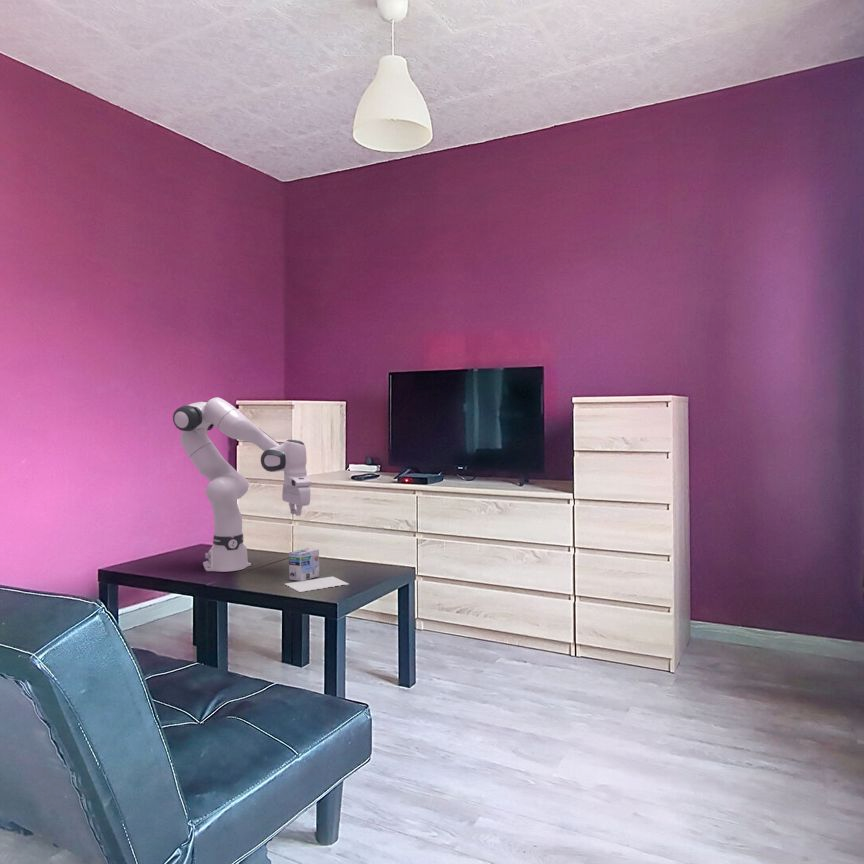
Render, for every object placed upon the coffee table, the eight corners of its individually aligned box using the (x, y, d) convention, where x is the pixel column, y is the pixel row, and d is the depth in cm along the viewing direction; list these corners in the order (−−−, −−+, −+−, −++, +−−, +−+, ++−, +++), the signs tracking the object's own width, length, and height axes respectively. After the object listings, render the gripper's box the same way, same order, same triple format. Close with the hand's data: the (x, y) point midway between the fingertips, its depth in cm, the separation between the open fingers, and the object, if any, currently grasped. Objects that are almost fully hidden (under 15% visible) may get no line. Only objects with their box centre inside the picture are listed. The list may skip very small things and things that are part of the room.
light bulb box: (301, 581, 253) (301, 553, 253) (288, 580, 257) (287, 552, 257) (320, 576, 262) (319, 548, 262) (307, 574, 266) (306, 547, 266)
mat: (284, 584, 250) (284, 583, 250) (332, 577, 262) (332, 576, 261) (299, 592, 239) (299, 591, 239) (349, 584, 250) (349, 583, 250)
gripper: (278, 478, 272) (278, 512, 273) (298, 482, 256) (298, 518, 256) (292, 477, 276) (292, 510, 276) (313, 481, 259) (313, 517, 259)
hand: (295, 514), depth 266 cm, fingers open, 4 cm apart
